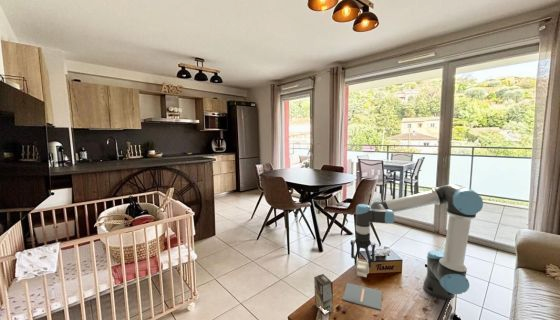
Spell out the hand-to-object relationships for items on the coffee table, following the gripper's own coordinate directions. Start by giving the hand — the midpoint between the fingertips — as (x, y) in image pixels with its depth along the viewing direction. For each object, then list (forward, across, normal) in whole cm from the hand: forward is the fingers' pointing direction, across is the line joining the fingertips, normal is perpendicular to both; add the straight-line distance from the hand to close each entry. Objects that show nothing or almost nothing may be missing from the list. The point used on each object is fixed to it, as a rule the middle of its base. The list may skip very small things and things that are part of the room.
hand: (362, 271), depth 131 cm
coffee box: (+15, +18, +18) cm, 30 cm away
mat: (+15, 0, 0) cm, 15 cm away
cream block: (0, 0, 0) cm, 0 cm away
